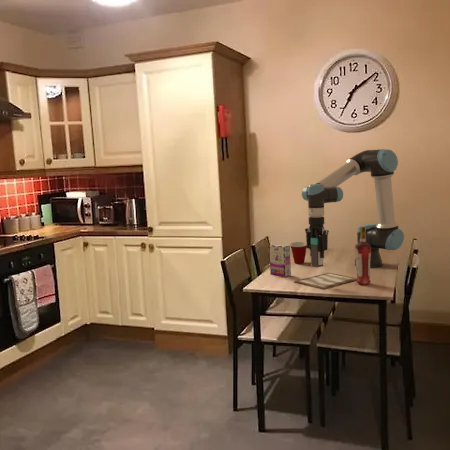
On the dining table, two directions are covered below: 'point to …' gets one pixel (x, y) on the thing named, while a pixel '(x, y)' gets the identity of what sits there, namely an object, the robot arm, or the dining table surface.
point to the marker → (314, 252)
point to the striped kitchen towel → (325, 280)
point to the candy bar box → (280, 260)
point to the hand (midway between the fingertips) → (317, 263)
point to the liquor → (363, 259)
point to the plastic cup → (299, 251)
